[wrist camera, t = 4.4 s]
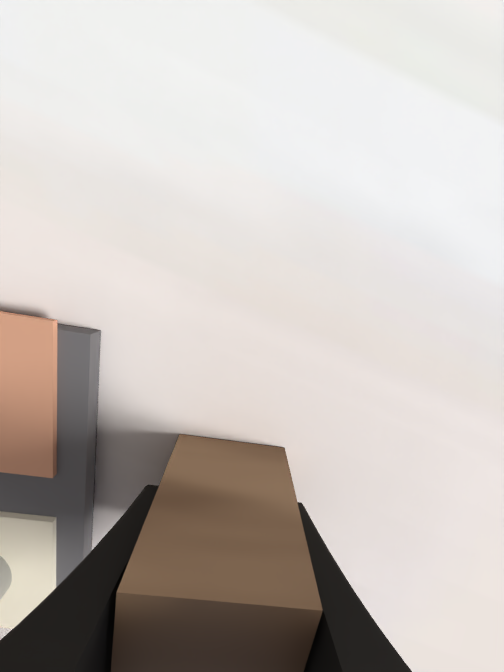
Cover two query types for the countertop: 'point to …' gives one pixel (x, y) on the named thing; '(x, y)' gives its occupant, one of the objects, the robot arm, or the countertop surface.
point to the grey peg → (4, 577)
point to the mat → (45, 455)
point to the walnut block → (219, 568)
